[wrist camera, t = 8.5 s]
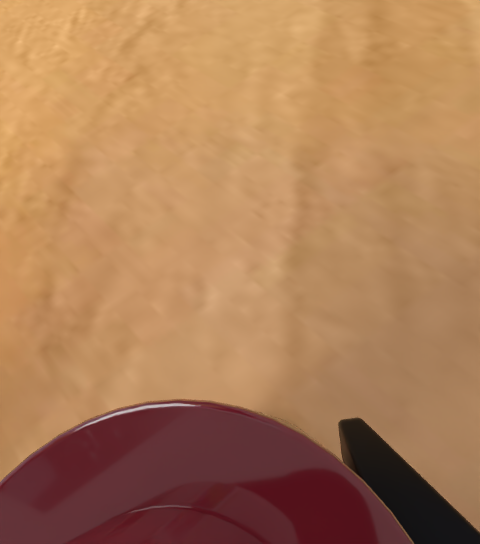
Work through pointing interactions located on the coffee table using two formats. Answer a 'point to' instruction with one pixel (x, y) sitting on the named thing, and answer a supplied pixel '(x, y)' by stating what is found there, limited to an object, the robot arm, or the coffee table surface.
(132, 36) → the coffee table surface
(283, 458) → the bottle
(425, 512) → the robot arm
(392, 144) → the coffee table surface
